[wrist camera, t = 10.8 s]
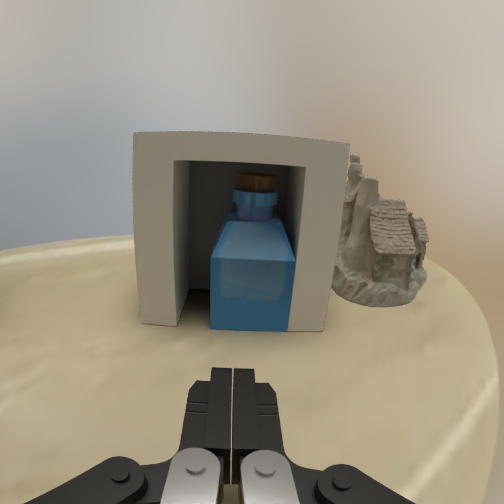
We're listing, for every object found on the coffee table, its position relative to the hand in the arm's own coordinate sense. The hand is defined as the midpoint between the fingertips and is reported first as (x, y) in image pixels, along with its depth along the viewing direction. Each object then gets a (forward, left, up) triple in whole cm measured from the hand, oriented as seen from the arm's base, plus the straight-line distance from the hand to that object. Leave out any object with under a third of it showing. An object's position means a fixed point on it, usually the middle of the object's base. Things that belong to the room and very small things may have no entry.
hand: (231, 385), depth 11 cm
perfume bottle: (+1, +16, -6) cm, 17 cm away
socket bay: (0, +17, -6) cm, 18 cm away
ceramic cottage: (+18, +25, -6) cm, 31 cm away
